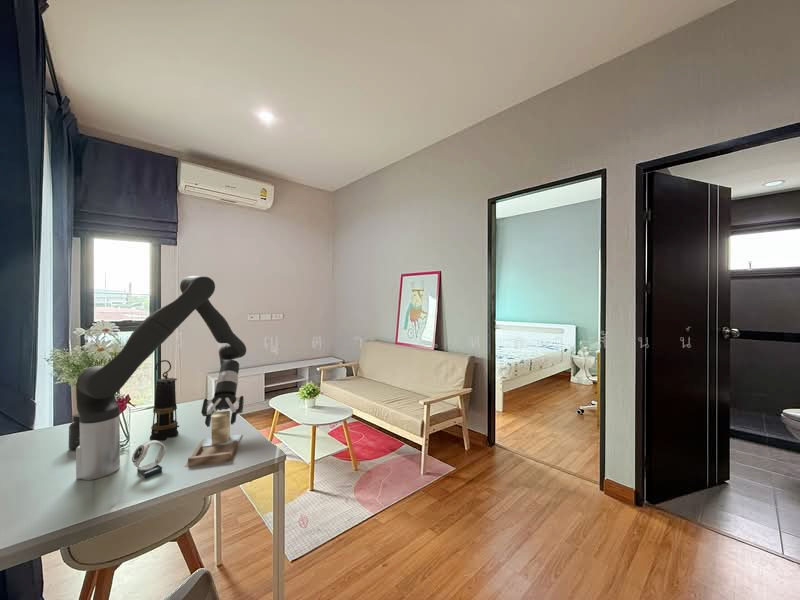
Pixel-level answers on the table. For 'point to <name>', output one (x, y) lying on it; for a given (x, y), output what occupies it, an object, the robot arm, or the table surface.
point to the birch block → (220, 427)
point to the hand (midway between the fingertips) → (220, 424)
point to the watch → (153, 467)
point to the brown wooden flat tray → (214, 451)
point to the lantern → (164, 408)
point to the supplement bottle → (74, 433)
